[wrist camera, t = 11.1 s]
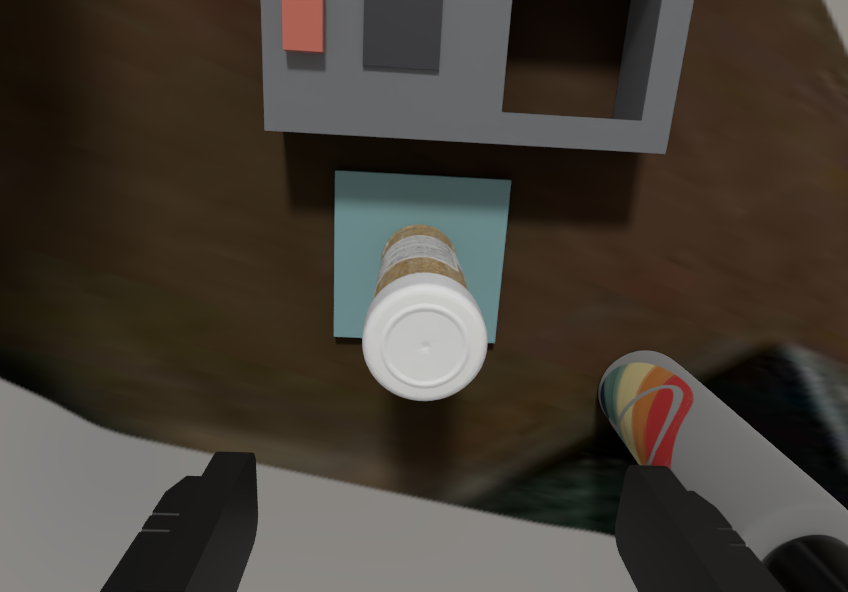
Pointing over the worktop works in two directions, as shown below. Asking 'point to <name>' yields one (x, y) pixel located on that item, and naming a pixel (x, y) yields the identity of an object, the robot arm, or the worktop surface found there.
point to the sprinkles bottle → (423, 319)
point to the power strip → (451, 74)
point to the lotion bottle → (729, 470)
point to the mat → (408, 205)
